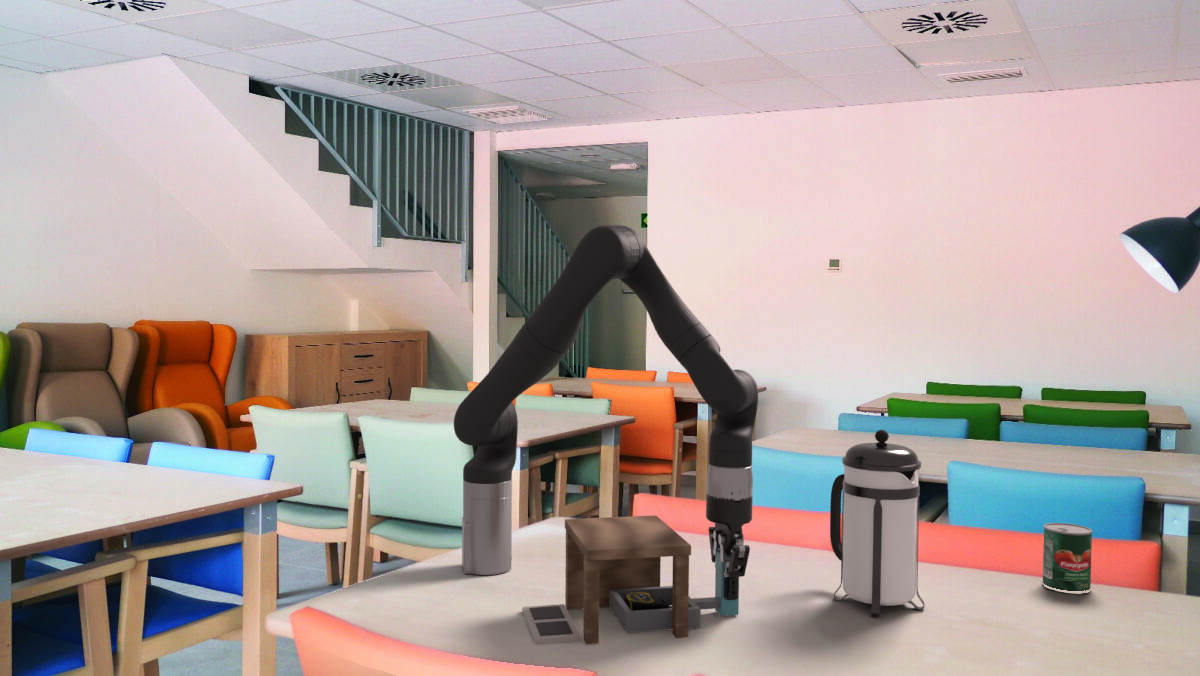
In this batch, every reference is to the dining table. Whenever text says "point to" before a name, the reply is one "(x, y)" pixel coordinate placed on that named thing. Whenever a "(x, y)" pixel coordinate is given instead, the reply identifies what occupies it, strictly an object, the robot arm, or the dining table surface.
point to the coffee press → (877, 523)
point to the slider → (663, 617)
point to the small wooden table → (622, 565)
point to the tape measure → (644, 601)
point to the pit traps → (550, 624)
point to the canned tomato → (1067, 556)
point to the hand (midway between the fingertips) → (726, 595)
